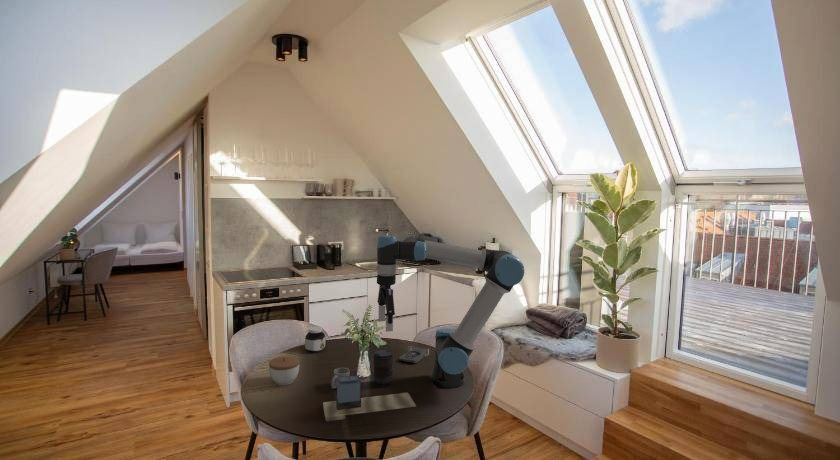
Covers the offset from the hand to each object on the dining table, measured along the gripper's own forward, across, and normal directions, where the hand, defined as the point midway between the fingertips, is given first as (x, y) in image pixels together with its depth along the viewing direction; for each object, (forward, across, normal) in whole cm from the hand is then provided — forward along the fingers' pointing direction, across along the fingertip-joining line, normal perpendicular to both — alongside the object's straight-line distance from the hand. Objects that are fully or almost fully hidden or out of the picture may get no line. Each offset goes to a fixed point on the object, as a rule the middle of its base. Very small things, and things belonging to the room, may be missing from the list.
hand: (385, 326), depth 183 cm
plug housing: (+24, +10, -16) cm, 31 cm away
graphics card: (+29, -36, +22) cm, 51 cm away
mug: (+29, -11, -17) cm, 35 cm away
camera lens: (+29, -7, +1) cm, 30 cm away
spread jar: (+29, -59, -24) cm, 70 cm away
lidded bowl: (+29, -22, -39) cm, 53 cm away
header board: (+29, +10, -8) cm, 31 cm away
